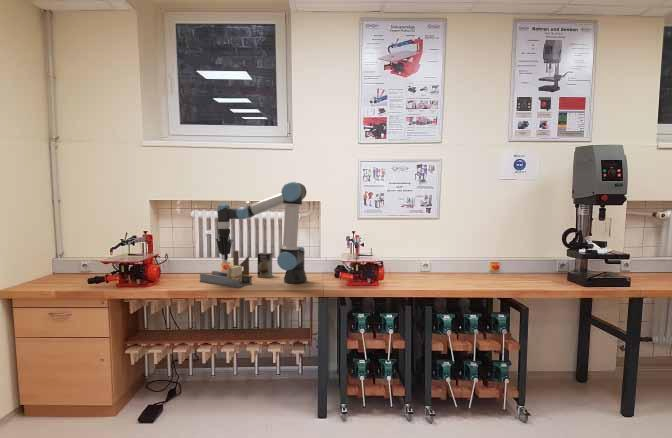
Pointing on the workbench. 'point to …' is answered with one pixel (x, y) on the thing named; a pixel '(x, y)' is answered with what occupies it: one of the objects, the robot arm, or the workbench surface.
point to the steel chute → (225, 279)
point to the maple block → (234, 272)
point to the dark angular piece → (244, 264)
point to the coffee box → (264, 265)
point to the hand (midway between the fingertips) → (224, 264)
